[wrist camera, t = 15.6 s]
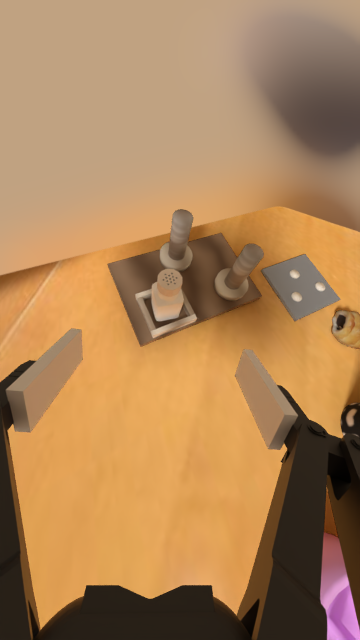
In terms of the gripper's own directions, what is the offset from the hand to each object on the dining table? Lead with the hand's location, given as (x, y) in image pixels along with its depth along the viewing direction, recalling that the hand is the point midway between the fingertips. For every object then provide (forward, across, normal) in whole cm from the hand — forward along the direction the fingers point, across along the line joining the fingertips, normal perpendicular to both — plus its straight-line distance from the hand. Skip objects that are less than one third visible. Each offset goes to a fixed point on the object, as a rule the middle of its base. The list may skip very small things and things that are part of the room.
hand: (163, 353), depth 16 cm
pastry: (+20, +36, -3) cm, 41 cm away
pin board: (+23, +3, +1) cm, 23 cm away
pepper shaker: (+18, 0, -3) cm, 18 cm away
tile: (+26, +27, +4) cm, 37 cm away
